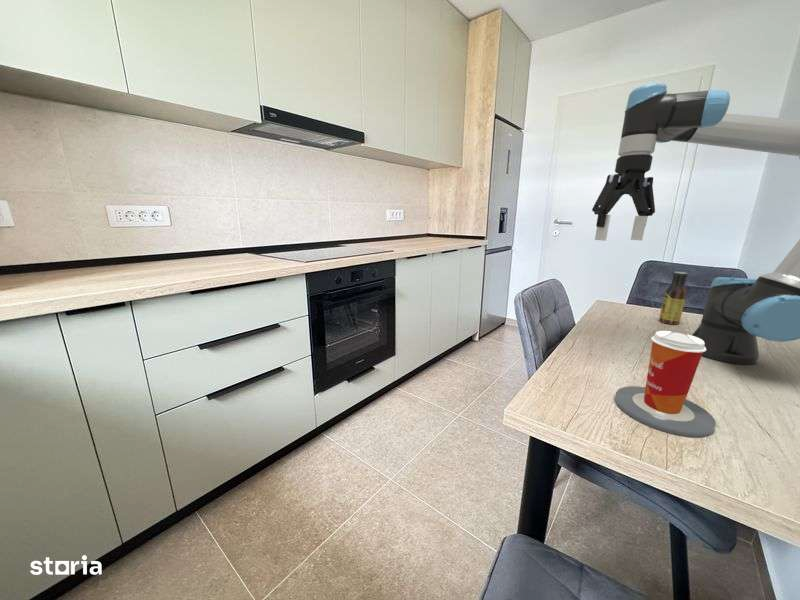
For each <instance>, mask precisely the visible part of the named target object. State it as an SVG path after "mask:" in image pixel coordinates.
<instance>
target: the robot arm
mask: <svg viewBox="0 0 800 600" xmlns="http://www.w3.org/2000/svg"><path fill="white" fill-rule="evenodd" d="M667 89H668V86H667V84H665V83H663V82H662V83H658V82H652V83H647V84H643V85H640V86H638V87H635V88H634V89H632V91H631V92H630V93H629V95H628V98H627V103H626V108H625V110H624V117H623V118H624V119H623V125H622V130H621V137H620V142H619V148H618V151H617V152H618V158H616V163H615V168H614V172H615V173H613V174H608V175H607V178H606V179H605V180H606V181H605V184H604V186H603V187H602V190H601V192H600V193H599V195H598V197H597V199H596V201H595V203H594V205H593V206H592V209H591V212H593V213H594V215H597V219H596V230H595V237H594V241H602V242H603V241H605V242H606V241H607V238H608V237H607V236H608V232H609V226H610V220H611V216H612V214H609V213H611V210H612V209H613V208H614V206H615V205H616V204H617V203H618V201H620V199H621V198H622V197H623V196H624V195H628V196H629V197H631V199H632V202H633V205H634V207H635V210H636V213H637V215H635V216H634V222H633V224H632V225H633V226H632V231H631V235H630V240H631V241H643V238H644V233H645V228H646V226H647V220H648V217H650V216H651V217H652V216H653V214H655V213H656V205H655V198H654V196H655V195H654V187H653V184H654V177H653V176H648V177H645V175H646V173H647V172H650V170H651V167H652V163H653V153H655V149H656V144H657V143H658V144H664V143H668V142H671V141H672V142H679V143H680V142H681V143H691V144H698V145H708V146H713V147H715V146H716V147H722V148H728V149H729V148H731V149H740V150H745V151H746V150H747V151H753V152H754V151H755V152H763V153H768V154H769V153H770V154H779V155H785V156H786V155H787V156H795V157H798V159H800V119H793V118H792V119H790V118H780V117H769V116H762V115H760V116H759V115H748V114H739V113H729V112H728V109H729V106H730V102H731V96H730V92H729V91H728V90H726V89H708V90H702V91H701V90H699V91H689V92H679V93H668V91H667ZM727 112H728V113H727ZM692 336H695V337H697V338H700V339H702V340H703V341H704V342H705V346H704V347H705V348H706V351H705V352H703V354H702V356H703V357H704V358H705V357H706V358H709V359H712V360H716V361H721V362H725V363H731V364H737V365H755V364H757V363H758V360H759V358H760V357H759V356H760V353H759V346H758V340H757V338H761V339H764V340H767V341H772V342H778V343H779V342H780V343H781V342H782V343H783V342H789V341H790V342H791V341H797V340H800V239H799V240H798V241H797V242H796V243H795V244H794V246H793V247H792V249H791V250H790V251H789V252H788V253H787V254H786V256H785V257H784V258H783V259H782V260H781V262H780V263H779V264H778V266H777V267H776V268H775V269H774V270H773V271H772V272H770V273H765V274H762V275H761V274H760V275H759V276H758V278H742V277H741V278H740V277H728V276H727V277H726V276H725V277H723V276H717V277H715V278H713V280H712V283H711V285H710V286H709V289H708V293H707V298H706V303H705V305H704V310H703V313H702V318H701V322H700V324H699V325H698V327H697V329H696V330H695V331H694V332H693V333H692ZM702 356H701V357H702Z"/></svg>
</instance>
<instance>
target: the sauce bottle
mask: <svg viewBox="0 0 800 600" xmlns="http://www.w3.org/2000/svg"><path fill="white" fill-rule="evenodd" d="M688 275H689V273H688V272H685V271H674V272H673V274H672V280H671V283H670V285H669V286H668V288H667V289H666V290H665V292H664V296H663V300H662V304H661V309H660V313H659V322H660V323H662V324H667V325H671V324H673V326H675V325H676V326H677V325H679V324H680V321H681V318H682V313H683V310H684V307H685V306H684V305H685V304H686V303H685V302H686V297H687V293H688V292H687V291H688V290H687V288H686V286H685V284H686V279H687V278H688Z"/></svg>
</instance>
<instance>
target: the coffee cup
mask: <svg viewBox="0 0 800 600" xmlns="http://www.w3.org/2000/svg"><path fill="white" fill-rule="evenodd" d="M692 335H693V334H692ZM692 335H691V334H684V333H682V332H677V331H675V332H672V330H671V331H670V330H658V331H656V332H655V333H654V335H653V336H651V341H652V344H651V345H652V346H651V350H650V351H651V352H650V356H649V357H650V358H649V364H648V370H647V377H646V382H645V387H646V388H645V395H644V402H645V403H646V404H647V405H648V406H649V407H651V408H653V409H655V410H657V411H660V412H664V413H668V414H678V413H680V411H681V409H682V407H683V404H684V402H685V399H687V396H688V394H689V391H690V389H691V386H692V383H693V380H694V378H695V375H696V372H697V370H698V367H699V364H700V362H701V358H702V354H703V352H705V351H706V348H705V347H704V346H705V342H704V341H703V340H702V339H700V338H697V337H695V336H692Z"/></svg>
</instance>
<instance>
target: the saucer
mask: <svg viewBox="0 0 800 600" xmlns="http://www.w3.org/2000/svg"><path fill="white" fill-rule="evenodd" d="M645 388H646V386H636V385H635V386H633V385H632V386H624V387H620V388H618V389H617V390H616V392H615V395H614V402H615V404H616V406H617V408H618V409H620V411H622V412H623V413H624V414H626V415H627V416H628V417H630V418H632V419H633V420H635V421H637V422H639V423H641V424H642V425H644V426H645V425H646V426H648V427H649V428H652V429H655V430H658V431H660V432H663V433H668V434H671V435H675V436H679V437H687V438H704V437H708V436H711V435H712V434H713V433H714V432H715V428H716V426H717V425H716V423H717V422H716V419H715V418H714V417H713V416H712V414H711V413H709V411H707V410H706V409H705V408H703V407H702V406H700V405H698V404H696V403H695V402H693V401H690V400H689V399H687V398H686V399H685V402H684V404H683V407H682V409H681V411H680V413H678V414H668V413H664V412H660V411H657V410H655V409H653V408H651V407H649V406H648V405H647V404H646V403H645V402H644V395H645Z"/></svg>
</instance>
